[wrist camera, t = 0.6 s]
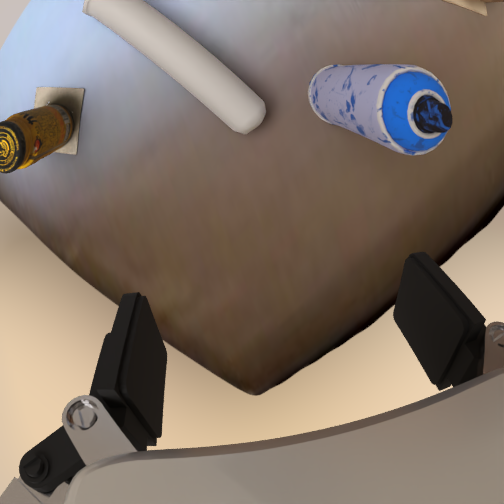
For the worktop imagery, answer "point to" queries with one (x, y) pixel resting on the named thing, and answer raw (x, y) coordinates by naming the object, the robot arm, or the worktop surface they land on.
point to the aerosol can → (384, 104)
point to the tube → (182, 60)
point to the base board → (473, 5)
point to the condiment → (41, 128)
